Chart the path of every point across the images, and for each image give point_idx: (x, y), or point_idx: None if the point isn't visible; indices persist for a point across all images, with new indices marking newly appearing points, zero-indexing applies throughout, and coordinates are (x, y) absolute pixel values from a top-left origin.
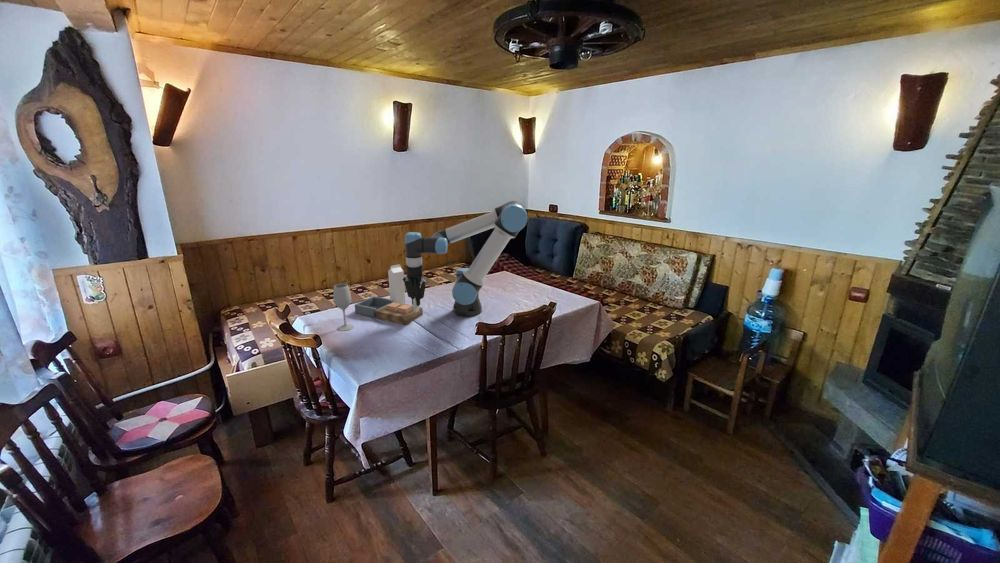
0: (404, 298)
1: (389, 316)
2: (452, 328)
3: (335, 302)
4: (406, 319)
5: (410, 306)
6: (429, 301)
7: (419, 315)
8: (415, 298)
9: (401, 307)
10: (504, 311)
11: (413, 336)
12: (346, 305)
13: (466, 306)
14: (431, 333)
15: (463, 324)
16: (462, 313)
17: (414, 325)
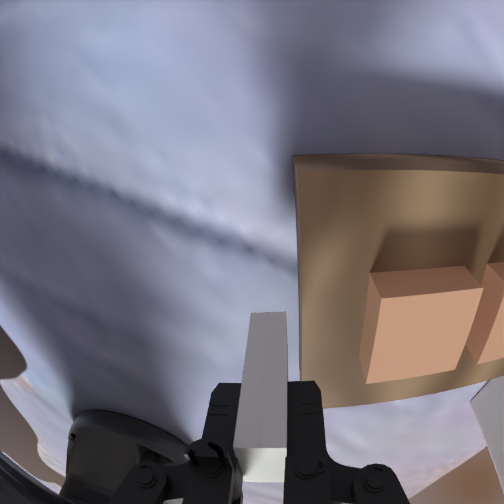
0: (482, 424)
1: (488, 167)
2: (14, 282)
3: None
4: (296, 180)
5: (374, 371)
6: (364, 462)
7: (299, 342)
8: (281, 471)
9: (450, 311)
10: (55, 449)
11: (86, 38)
12: None
13: (77, 452)
14: (30, 159)
15: (26, 340)
16: (95, 420)
17: (220, 191)
